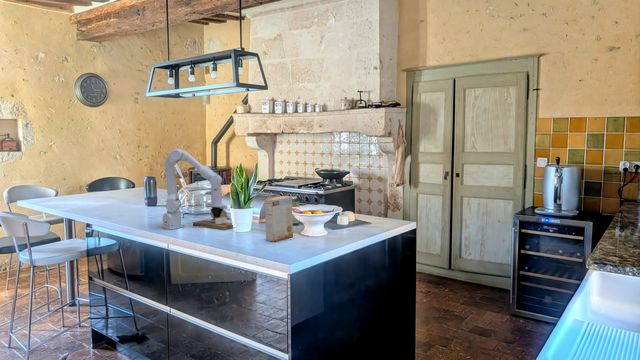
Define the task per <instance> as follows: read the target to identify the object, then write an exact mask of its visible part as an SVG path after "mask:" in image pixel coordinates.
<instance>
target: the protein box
mask: <svg viewBox="0 0 640 360" xmlns="http://www.w3.org/2000/svg"><path fill="white" fill-rule="evenodd" d="M274 197H275V196H273V197H272V198H274ZM292 207H299V208H300V196H292ZM299 225H300V220H299V221H298V220H297V219H295V218H294V216H293V227H294V226H295V227H296V226H297V227H298V226H299Z"/></svg>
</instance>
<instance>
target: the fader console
mask: <svg viewBox="0 0 640 360" xmlns="http://www.w3.org/2000/svg"><path fill="white" fill-rule="evenodd" d="M232 223H233V222H229V221H228V222H227V221H226V223H223V224H216V223H215V219H214V220H212V219H207V218H206V219H202V220H201V219H200V220H197V221H193V222H192V226H193V227H200V228H207V229H213V230H219V231H227V230H230V229H234V228H233V225H232Z"/></svg>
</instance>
